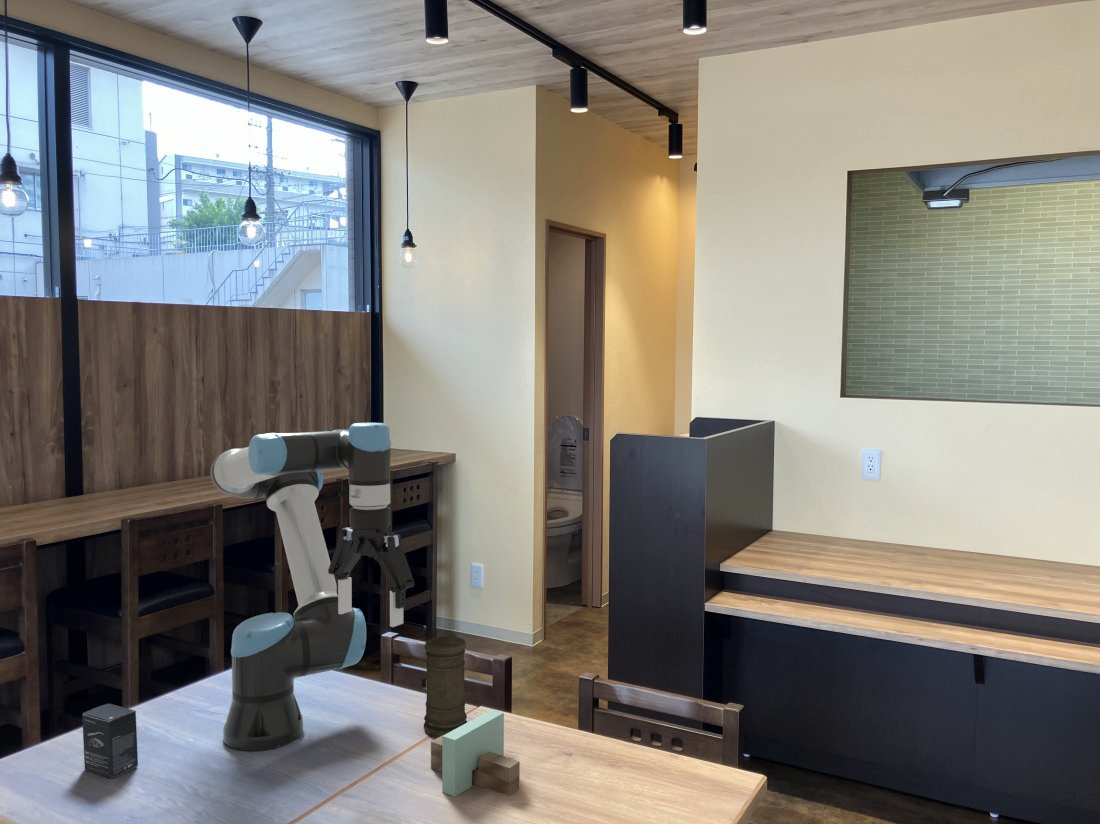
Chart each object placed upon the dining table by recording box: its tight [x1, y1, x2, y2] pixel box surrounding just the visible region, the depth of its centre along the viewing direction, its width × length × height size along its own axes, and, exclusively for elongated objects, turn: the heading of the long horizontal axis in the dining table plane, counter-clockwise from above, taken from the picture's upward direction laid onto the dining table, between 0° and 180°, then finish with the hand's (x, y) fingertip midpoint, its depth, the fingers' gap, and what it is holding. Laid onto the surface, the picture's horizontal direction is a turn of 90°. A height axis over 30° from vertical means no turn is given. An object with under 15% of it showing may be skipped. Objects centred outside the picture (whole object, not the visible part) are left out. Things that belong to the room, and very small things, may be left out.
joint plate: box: [441, 709, 505, 798], centre depth 151 cm, size 14×3×10 cm, turn 146°
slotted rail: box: [430, 736, 521, 797], centre depth 151 cm, size 18×3×5 cm, turn 56°
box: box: [81, 703, 139, 779], centre depth 154 cm, size 8×6×11 cm
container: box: [423, 636, 468, 738], centre depth 172 cm, size 9×9×18 cm
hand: (370, 618), depth 158 cm, fingers open, 13 cm apart
